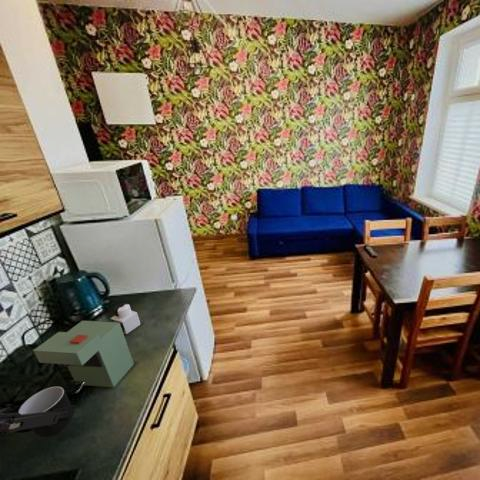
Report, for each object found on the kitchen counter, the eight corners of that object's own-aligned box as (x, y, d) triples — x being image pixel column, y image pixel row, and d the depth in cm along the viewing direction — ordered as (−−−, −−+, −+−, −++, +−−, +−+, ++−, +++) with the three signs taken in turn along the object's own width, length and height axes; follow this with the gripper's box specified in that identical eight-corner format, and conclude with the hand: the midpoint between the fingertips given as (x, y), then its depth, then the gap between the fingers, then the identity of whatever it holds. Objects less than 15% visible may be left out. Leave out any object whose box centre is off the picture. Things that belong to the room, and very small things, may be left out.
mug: (80, 404, 81) (67, 380, 77) (74, 430, 74) (59, 406, 70) (25, 426, 75) (8, 401, 71) (13, 456, 68) (-6, 432, 64)
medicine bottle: (114, 331, 119) (106, 309, 114) (129, 320, 125) (122, 299, 120) (126, 334, 117) (118, 312, 112) (141, 324, 123) (134, 302, 118)
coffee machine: (59, 400, 88) (31, 348, 80) (99, 361, 103) (79, 314, 94) (99, 403, 88) (75, 351, 79) (134, 364, 102) (117, 316, 93)
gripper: (-110, 449, 54) (11, 421, 75) (-7, 458, 53) (88, 427, 73) (-87, 406, 57) (24, 391, 77) (12, 414, 56) (98, 396, 76)
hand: (55, 409), depth 75 cm, fingers closed on mug, 10 cm apart
